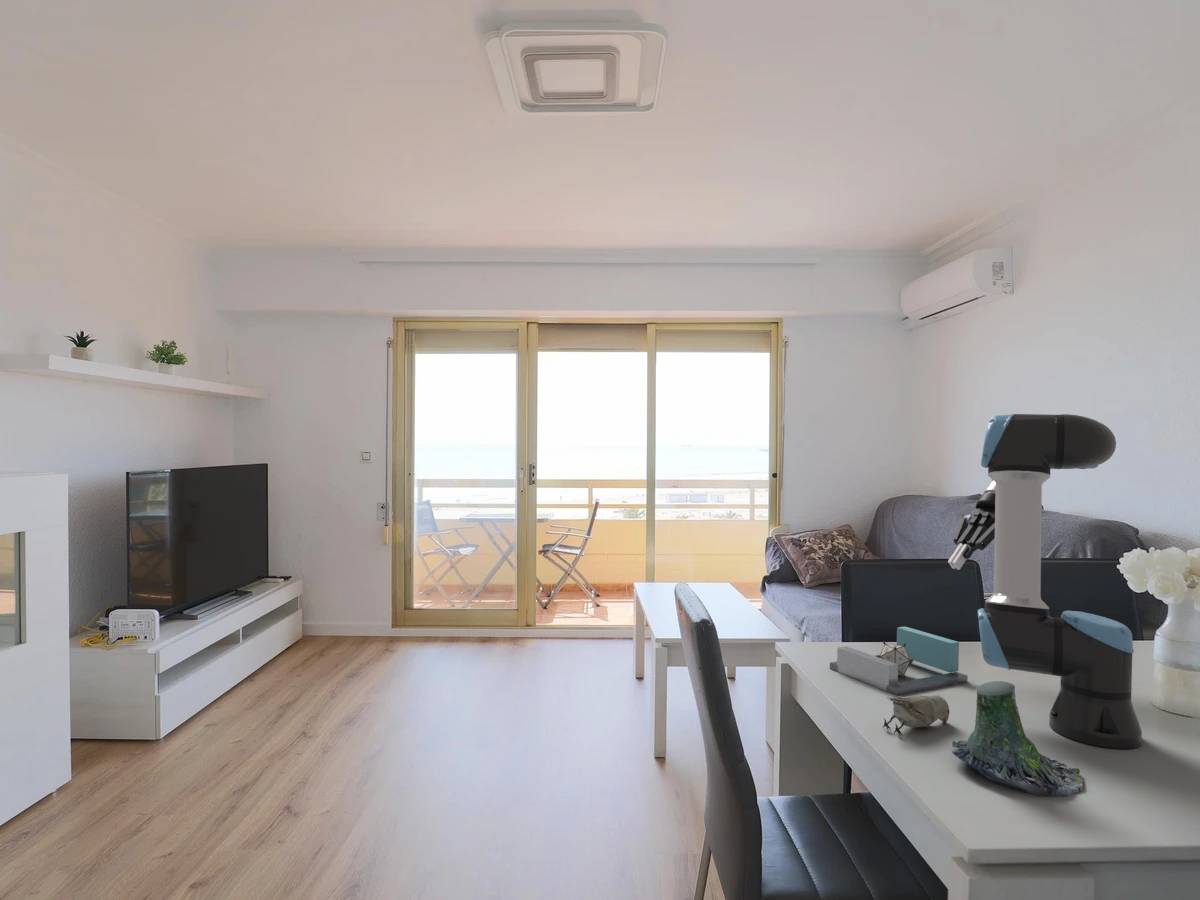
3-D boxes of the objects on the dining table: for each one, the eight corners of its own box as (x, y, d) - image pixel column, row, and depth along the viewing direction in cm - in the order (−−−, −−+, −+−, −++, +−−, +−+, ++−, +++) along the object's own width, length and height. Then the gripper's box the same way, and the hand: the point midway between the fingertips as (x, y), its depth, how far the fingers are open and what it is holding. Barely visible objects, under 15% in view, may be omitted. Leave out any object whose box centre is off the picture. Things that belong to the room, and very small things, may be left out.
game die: (897, 693, 173) (899, 668, 167) (867, 672, 179) (868, 647, 174) (919, 671, 177) (922, 645, 171) (889, 651, 183) (891, 626, 177)
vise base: (967, 681, 171) (967, 656, 171) (897, 695, 161) (897, 669, 161) (896, 657, 190) (897, 635, 190) (829, 668, 180) (830, 644, 180)
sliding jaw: (958, 671, 174) (959, 641, 174) (950, 672, 172) (950, 643, 172) (904, 653, 188) (905, 626, 188) (896, 654, 187) (897, 627, 187)
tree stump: (1115, 805, 113) (1092, 698, 113) (988, 827, 115) (965, 722, 114) (1050, 750, 131) (1030, 657, 131) (942, 770, 133) (922, 679, 132)
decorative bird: (957, 727, 143) (958, 691, 143) (900, 740, 136) (900, 702, 136) (934, 718, 148) (935, 682, 148) (878, 730, 141) (878, 693, 141)
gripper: (1027, 512, 187) (984, 579, 179) (979, 508, 199) (937, 570, 192) (1014, 492, 184) (970, 560, 177) (967, 489, 196) (924, 552, 189)
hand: (953, 565), depth 184 cm, fingers closed
